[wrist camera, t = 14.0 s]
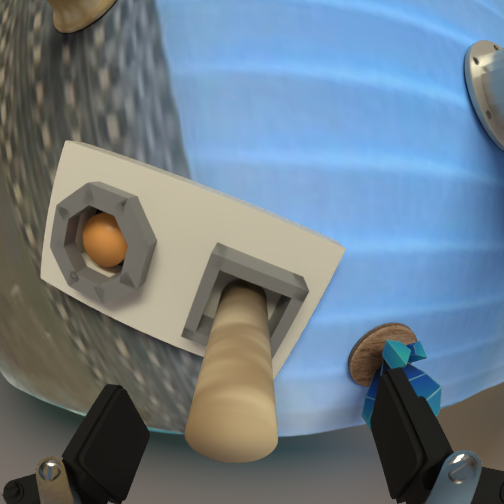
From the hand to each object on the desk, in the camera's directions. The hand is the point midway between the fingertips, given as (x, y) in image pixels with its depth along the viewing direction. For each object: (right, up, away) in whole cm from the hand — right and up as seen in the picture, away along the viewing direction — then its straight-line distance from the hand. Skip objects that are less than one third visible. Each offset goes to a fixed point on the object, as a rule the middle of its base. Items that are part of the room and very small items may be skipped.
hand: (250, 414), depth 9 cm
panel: (-6, +5, +13) cm, 15 cm away
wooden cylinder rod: (-1, +2, +11) cm, 11 cm away
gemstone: (+13, -4, +15) cm, 20 cm away
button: (-11, +7, +12) cm, 17 cm away
